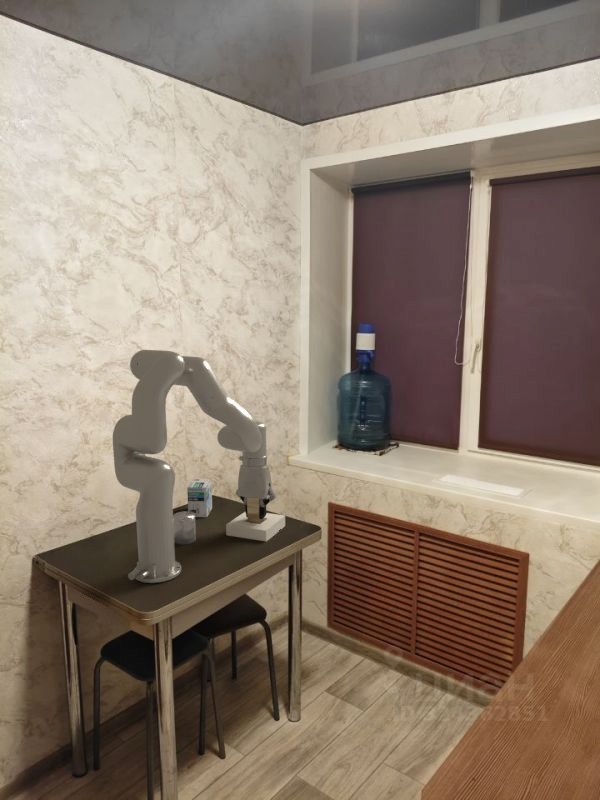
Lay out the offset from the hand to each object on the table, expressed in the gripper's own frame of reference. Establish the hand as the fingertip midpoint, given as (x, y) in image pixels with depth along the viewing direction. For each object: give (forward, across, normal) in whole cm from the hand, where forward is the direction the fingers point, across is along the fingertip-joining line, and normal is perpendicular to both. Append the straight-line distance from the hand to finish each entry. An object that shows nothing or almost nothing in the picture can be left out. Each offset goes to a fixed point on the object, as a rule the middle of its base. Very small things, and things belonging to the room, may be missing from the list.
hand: (255, 516), depth 185 cm
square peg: (+3, 0, 0) cm, 3 cm away
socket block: (+5, 0, 0) cm, 5 cm away
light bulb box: (+5, -26, +8) cm, 28 cm away
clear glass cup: (+5, -17, -15) cm, 23 cm away
